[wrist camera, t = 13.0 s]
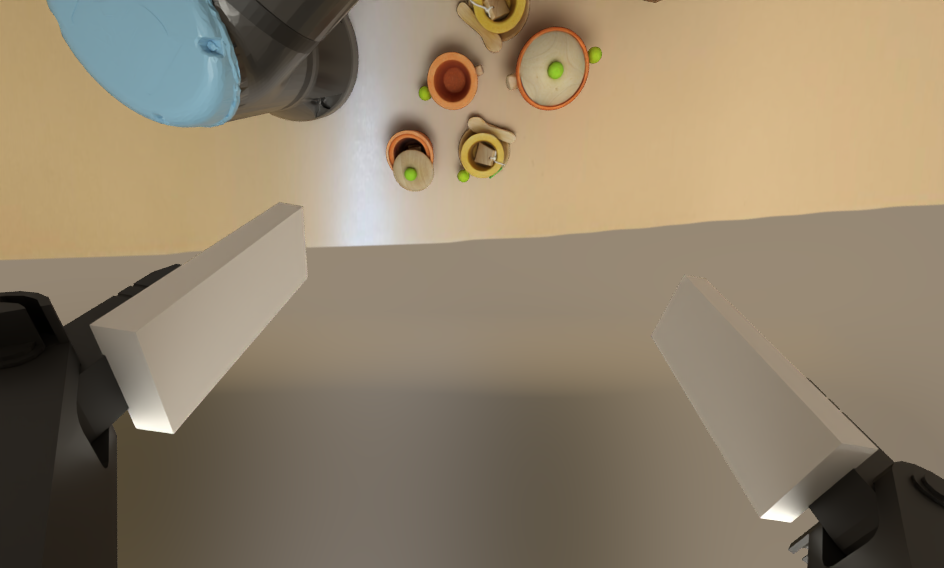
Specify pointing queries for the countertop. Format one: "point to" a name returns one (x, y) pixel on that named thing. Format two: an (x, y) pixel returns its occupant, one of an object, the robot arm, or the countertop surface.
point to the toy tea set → (537, 76)
